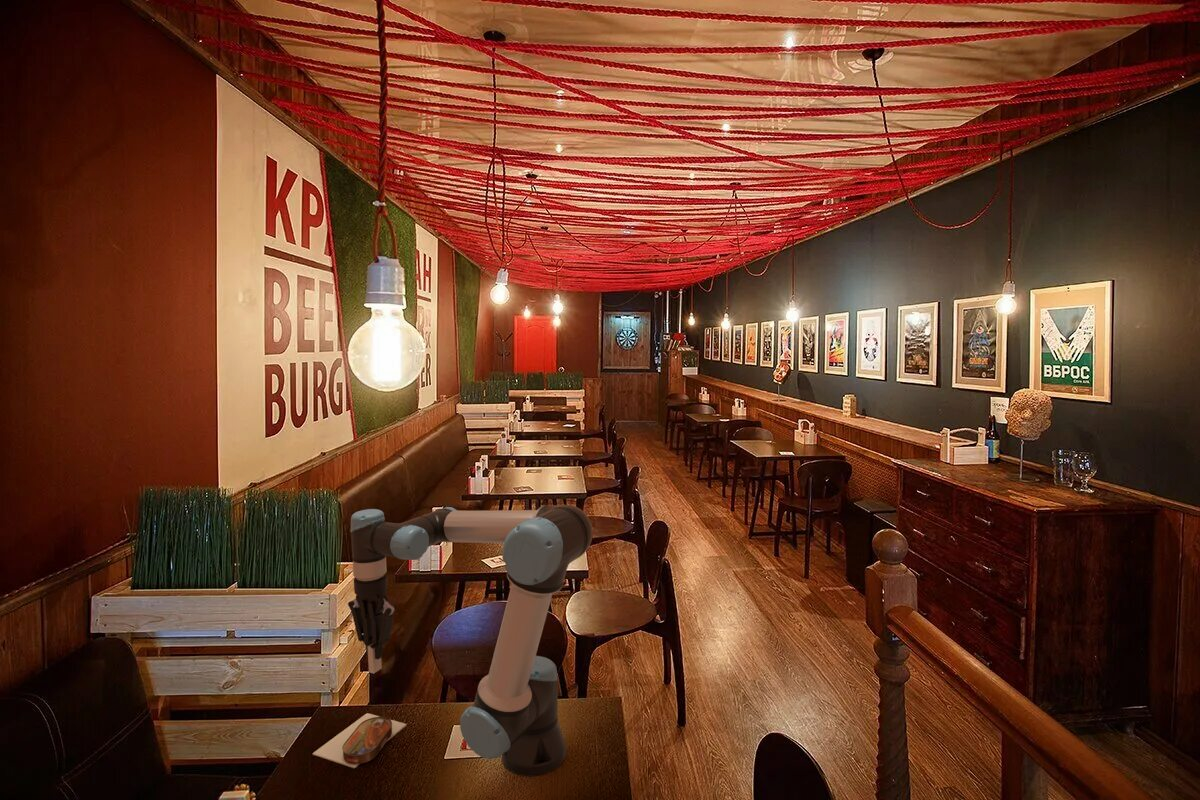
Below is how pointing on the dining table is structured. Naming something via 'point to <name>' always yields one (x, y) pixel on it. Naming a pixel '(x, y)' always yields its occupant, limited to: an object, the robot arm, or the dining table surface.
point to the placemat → (335, 745)
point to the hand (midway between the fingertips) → (375, 670)
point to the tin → (367, 740)
